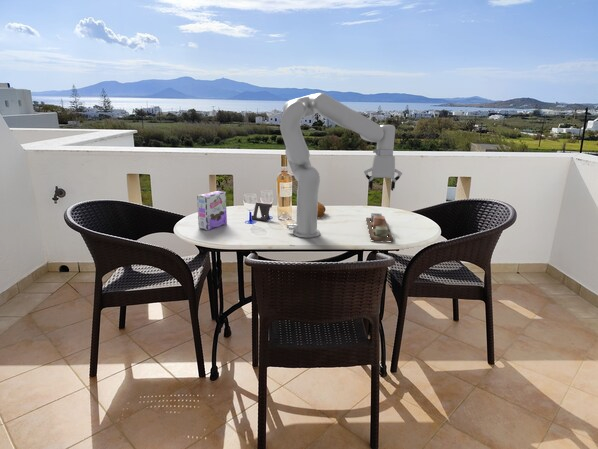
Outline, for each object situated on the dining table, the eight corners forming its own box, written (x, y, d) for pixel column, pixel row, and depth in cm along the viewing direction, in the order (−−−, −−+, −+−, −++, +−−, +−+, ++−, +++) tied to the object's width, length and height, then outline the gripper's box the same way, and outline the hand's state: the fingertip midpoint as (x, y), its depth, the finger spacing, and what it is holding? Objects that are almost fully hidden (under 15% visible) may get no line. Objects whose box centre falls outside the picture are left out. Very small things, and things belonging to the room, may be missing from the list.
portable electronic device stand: (250, 219, 204) (250, 204, 202) (258, 216, 211) (258, 200, 209) (265, 221, 201) (265, 206, 198) (273, 218, 208) (273, 202, 205)
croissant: (325, 215, 223) (326, 201, 222) (324, 219, 208) (325, 204, 206) (300, 213, 225) (301, 199, 223) (297, 217, 209) (297, 202, 208)
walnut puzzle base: (371, 241, 174) (371, 230, 173) (366, 221, 205) (366, 211, 204) (392, 242, 174) (393, 231, 172) (384, 222, 205) (385, 212, 203)
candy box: (207, 230, 184) (205, 196, 180) (198, 228, 187) (196, 194, 183) (227, 224, 195) (226, 191, 191) (218, 222, 199) (217, 190, 194)
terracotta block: (373, 232, 187) (374, 218, 185) (372, 229, 192) (373, 215, 190) (383, 232, 187) (385, 218, 185) (382, 229, 192) (384, 216, 190)
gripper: (366, 152, 176) (363, 190, 181) (405, 154, 175) (401, 192, 179) (364, 151, 183) (362, 187, 188) (402, 152, 182) (399, 188, 187)
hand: (381, 189), depth 184 cm, fingers open, 9 cm apart
